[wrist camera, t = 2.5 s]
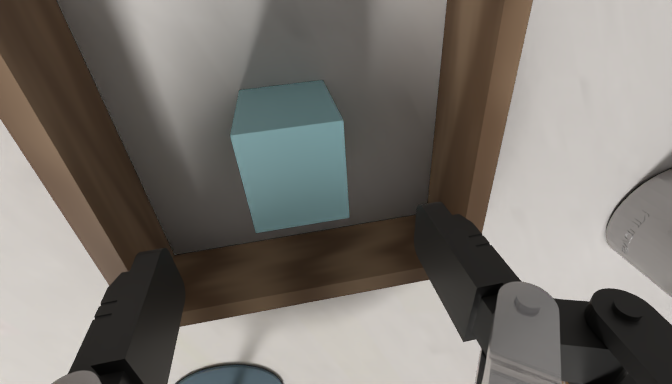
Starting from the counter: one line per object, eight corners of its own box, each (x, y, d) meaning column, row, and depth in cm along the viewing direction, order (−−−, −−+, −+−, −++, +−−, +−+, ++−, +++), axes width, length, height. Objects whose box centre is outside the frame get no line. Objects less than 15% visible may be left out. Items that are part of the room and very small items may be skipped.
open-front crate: (476, -56, 16) (546, -64, 12) (440, 222, 26) (473, 271, 22) (16, -17, 14) (-84, -10, 10) (162, 270, 24) (141, 334, 20)
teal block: (322, 79, 19) (343, 120, 14) (329, 159, 22) (349, 217, 17) (239, 89, 18) (230, 135, 13) (257, 170, 21) (255, 233, 16)
